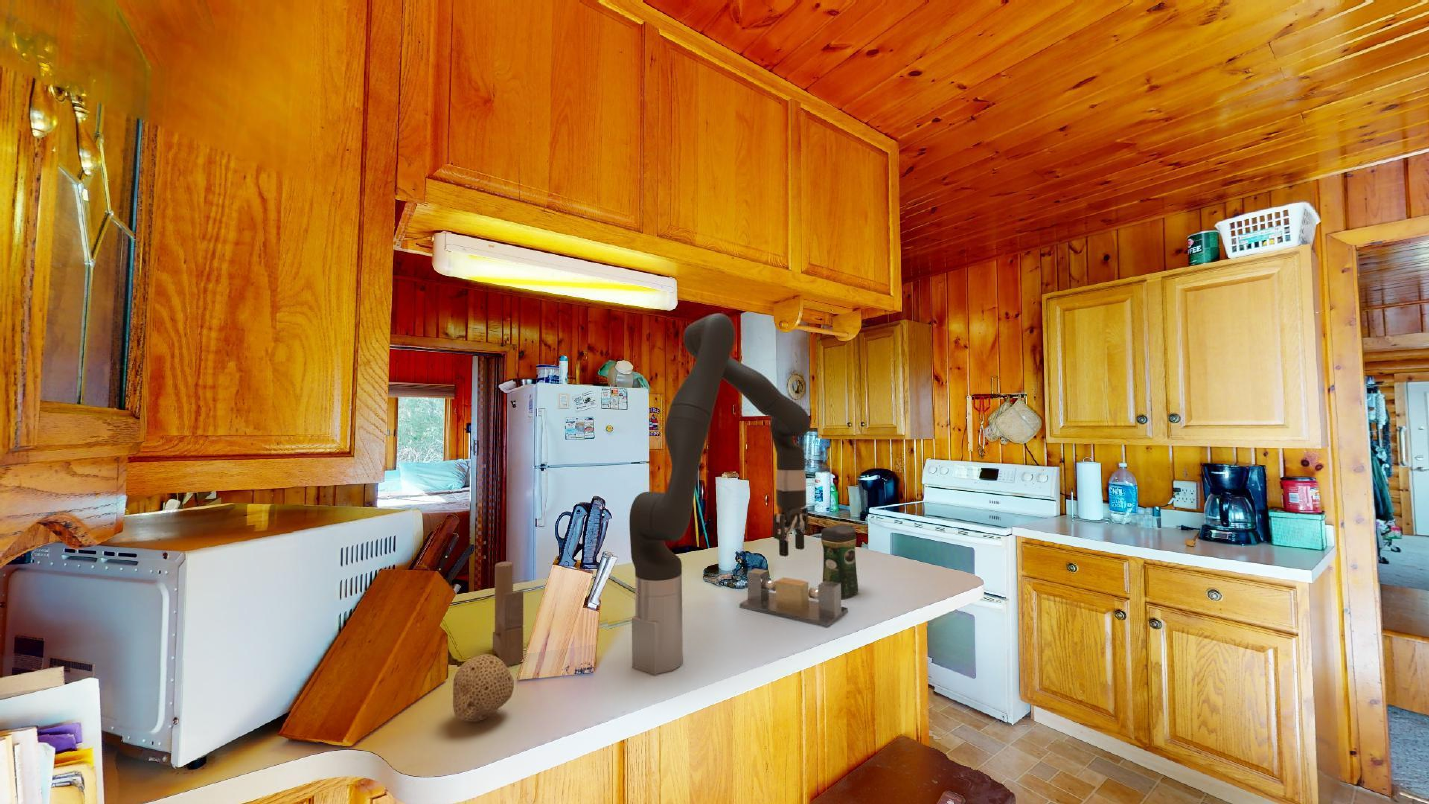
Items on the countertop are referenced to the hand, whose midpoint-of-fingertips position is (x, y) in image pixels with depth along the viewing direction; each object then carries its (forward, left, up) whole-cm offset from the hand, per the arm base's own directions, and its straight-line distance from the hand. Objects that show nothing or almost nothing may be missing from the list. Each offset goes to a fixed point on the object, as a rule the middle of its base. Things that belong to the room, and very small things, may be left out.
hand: (792, 552), depth 133 cm
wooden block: (-56, +36, -15) cm, 68 cm away
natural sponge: (-72, +18, -15) cm, 76 cm away
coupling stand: (0, 0, -14) cm, 14 cm away
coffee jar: (+18, -5, -15) cm, 24 cm away
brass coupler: (0, 0, -13) cm, 13 cm away
